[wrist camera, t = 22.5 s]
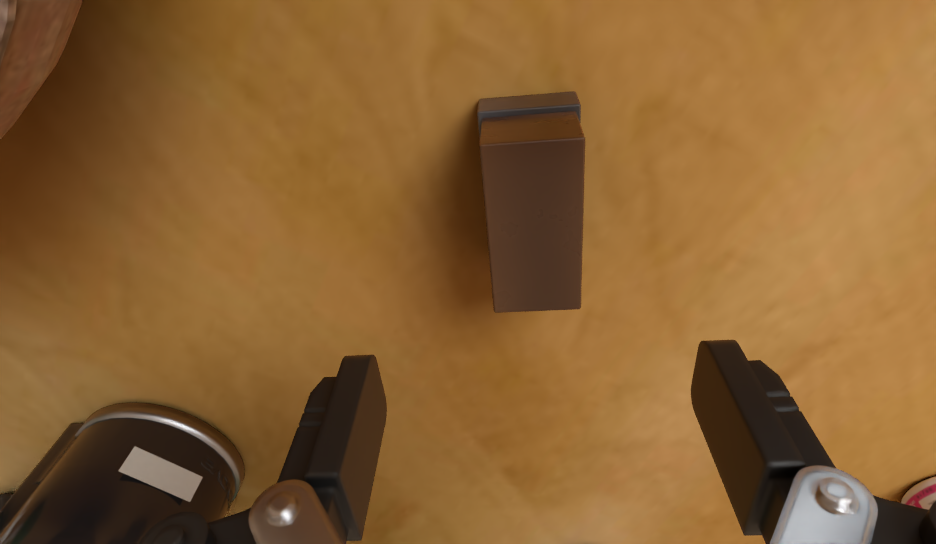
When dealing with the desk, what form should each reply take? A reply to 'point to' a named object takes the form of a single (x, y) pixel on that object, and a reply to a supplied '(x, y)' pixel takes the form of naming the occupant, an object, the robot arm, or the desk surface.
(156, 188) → the desk surface
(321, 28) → the desk surface
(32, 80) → the ceramic bowl
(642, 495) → the desk surface
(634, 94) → the desk surface
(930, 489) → the pill bottle
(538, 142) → the eraser
